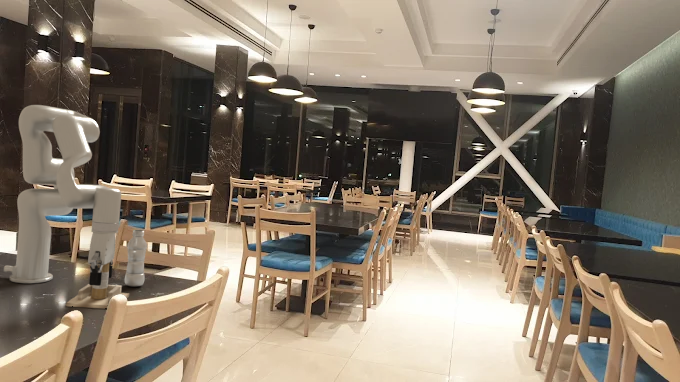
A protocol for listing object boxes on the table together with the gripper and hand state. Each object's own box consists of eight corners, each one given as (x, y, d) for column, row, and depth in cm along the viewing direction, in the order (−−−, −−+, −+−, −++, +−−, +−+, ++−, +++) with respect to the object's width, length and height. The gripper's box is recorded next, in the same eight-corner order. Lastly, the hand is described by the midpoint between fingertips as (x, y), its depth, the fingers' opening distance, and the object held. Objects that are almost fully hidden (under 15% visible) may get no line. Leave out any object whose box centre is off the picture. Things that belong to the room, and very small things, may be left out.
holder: (65, 306, 142) (66, 292, 142) (84, 293, 156) (85, 281, 156) (115, 309, 144) (116, 296, 144) (129, 296, 158) (130, 284, 158)
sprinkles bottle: (88, 296, 150) (91, 254, 149) (103, 295, 153) (106, 253, 153) (94, 300, 147) (98, 257, 146) (109, 298, 150) (113, 256, 150)
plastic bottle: (136, 289, 167) (141, 232, 166) (119, 286, 168) (124, 230, 167) (147, 285, 173) (152, 230, 172) (131, 282, 174) (135, 228, 173)
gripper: (102, 222, 157) (98, 274, 158) (81, 230, 140) (76, 287, 141) (126, 224, 158) (121, 275, 159) (108, 232, 141) (103, 289, 142)
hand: (100, 281), depth 150 cm, fingers open, 9 cm apart
